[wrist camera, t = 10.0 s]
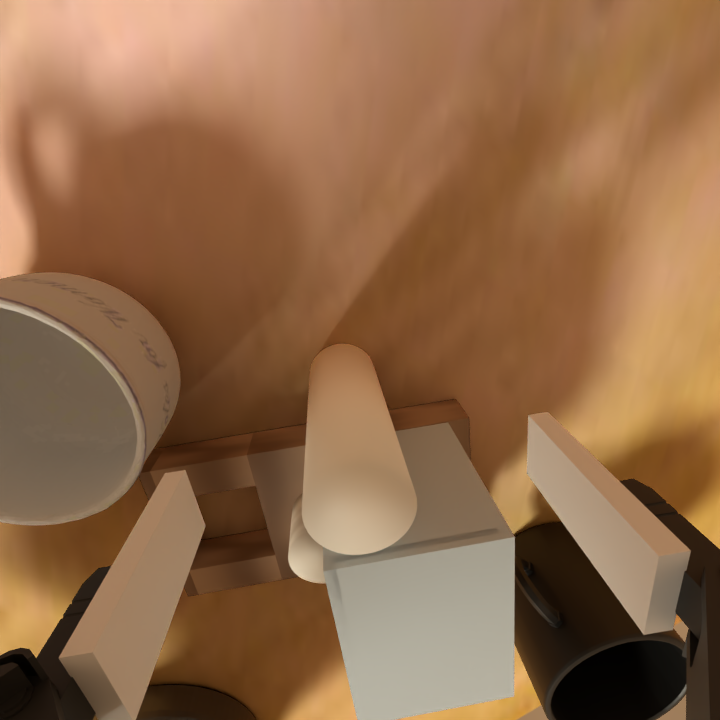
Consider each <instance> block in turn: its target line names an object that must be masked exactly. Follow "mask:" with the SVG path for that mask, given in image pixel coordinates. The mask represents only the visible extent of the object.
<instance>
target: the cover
mask: <svg viewBox="0 0 720 720" xmlns="http://www.w3.org/2000/svg"><path fill="white" fill-rule="evenodd" d="M395 432H396V435H397V438H398V441H399V444H400V448H401V451H402V454H403V457H404V460H405V463H406V466H407V469H408V472H409V475H410V478H411V481H412V484H413V487H414V490H415V493H416V497H417V512H416V516H415V519H414V521H413V523H412V525H411V527H410V528H409V530H408V531H407V532H406V533H405V535H403V536H402V537H401V538H400V539H399V540H398V541H396V542H395V543H394V544H392V545H390V546H389V547H387V548H384V549H382V550H380V551H377V552H373V553H369V554H362V555H348V554H341V553H337V552H334V551H331V550H329V549H326V548H325V547H323V573H324V577H325V581H326V586H327V590H328V594H329V599H330V603H331V607H332V612H333V616H334V620H335V625H336V629H337V633H338V638H339V642H340V646H341V651H342V655H343V659H344V664H345V668H346V672H347V677H348V681H349V685H350V690H351V694H352V698H353V703H354V707H355V711H356V716H357V720H395V719H400V718H405V717H411V716H416V715H421V714H426V713H431V712H437V711H442V710H447V709H452V708H457V707H462V706H468V705H473V704H478V703H483V702H488V701H493V700H499V699H504V698H509V697H514V600H515V537H514V535H513V533H512V531H511V530H510V528H509V526H508V525H507V523H506V521H505V519H504V518H503V516H502V514H501V512H500V511H499V509H498V507H497V506H496V504H495V502H494V500H493V499H492V497H491V495H490V494H489V492H488V490H487V488H486V487H485V485H484V483H483V482H482V480H481V478H480V476H479V475H478V473H477V471H476V469H475V468H474V466H473V464H472V463H471V461H470V459H469V457H468V456H467V454H466V452H465V451H464V449H463V447H462V445H461V444H460V442H459V440H458V438H457V437H456V435H455V433H454V432H453V430H452V428H451V426H450V425H449V423H448V422H447V423H441V424H435V425H429V426H423V427H417V428H411V429H405V430H399V431H395Z"/></svg>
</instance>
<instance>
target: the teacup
mask: <svg viewBox="0 0 720 720" xmlns="http://www.w3.org/2000/svg"><path fill="white" fill-rule="evenodd" d="M180 384H181V381H180V367H179V362H178V358H177V355H176V352H175V349H174V347H173V344H172V342H171V340H170V338H169V336H168V335H167V333H166V332H165V330H164V329H163V327H162V326H161V325H160V323H159V322H158V321H157V319H156V318H155V317H154V316H153V315H152V314H151V313H150V312H149V311H148V310H147V309H146V308H145V307H144V306H143V305H141V304H140V303H139V302H138V301H136V300H135V299H134V298H132V297H131V296H129V295H128V294H126V293H125V292H123V291H121V290H119V289H117V288H116V287H113V286H111V285H109V284H107V283H104V282H102V281H99V280H96V279H92V278H89V277H85V276H81V275H75V274H70V273H57V272H43V273H30V274H23V275H17V276H12V277H7V278H3V279H0V522H3V523H9V524H17V525H53V524H60V523H65V522H70V521H75V520H80V519H83V518H86V517H88V516H91V515H94V514H96V513H98V512H101V511H103V510H105V509H107V508H108V507H110V506H111V505H112V504H114V503H115V502H116V501H118V500H119V499H120V498H121V497H122V496H123V495H124V494H125V493H126V492H127V491H128V490H129V489H130V488H131V487H132V486H133V484H134V483H135V481H136V480H137V478H138V476H139V474H140V473H141V470H142V468H143V465H144V462H145V461H146V459H147V458H148V456H149V455H150V453H151V452H152V450H153V448H154V447H155V445H156V444H157V442H158V441H159V439H160V438H161V436H162V434H163V433H164V431H165V429H166V427H167V425H168V424H169V422H170V420H171V418H172V416H173V414H174V411H175V408H176V405H177V402H178V398H179V393H180Z"/></svg>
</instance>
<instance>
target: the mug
mask: <svg viewBox="0 0 720 720" xmlns="http://www.w3.org/2000/svg"><path fill="white" fill-rule="evenodd" d="M514 644H515V646H516V648H517V650H518V653H519V655H520V657H521V659H522V662H523V664H524V666H525V669H526V671H527V673H528V675H529V678H530V680H531V682H532V684H533V687H534V689H535V691H536V694H537V696H538V698H539V700H540V703H541V705H542V707H543V709H544V712H545V714H546V716H547V718H548V719H549V720H656V719H658V718H660V717H661V716H662V715H664V714H665V713H667V712H668V711H670V710H671V709H672V708H673V707H674V706H676V705H677V704H678V703H679V701H681V700H682V698H683V697H684V696H685V695H686V678H687V658H685V657H683V656H682V653H683V649H684V645H685V642H684V641H683V640H682V638H681V637H680V636H679V635H678V634H677V632H676V631H675V630H674V629H673V630H669V631H663V632H657V633H652V634H646V635H644V634H643V633H642V632H641V630H640V629H639V627H638V626H637V625H636V623H635V622H634V621H633V619H632V618H631V616H630V615H629V614H628V612H627V611H626V610H625V608H624V607H623V605H622V604H621V603H620V601H619V600H618V599H617V597H616V596H615V594H614V593H613V592H612V590H611V589H610V587H609V586H608V585H607V583H606V582H605V581H604V579H603V578H602V576H601V575H600V574H599V572H598V571H597V570H596V568H595V567H594V565H593V564H592V563H591V561H590V560H589V559H588V557H587V556H586V554H585V553H584V552H583V550H582V549H581V547H580V546H579V545H578V543H577V542H576V541H575V539H574V538H573V536H572V535H571V534H570V532H569V531H568V530H567V528H566V527H565V525H564V524H563V523H562V522H556V523H548V524H543V525H539V526H536V527H533V528H531V529H528V530H526V531H524V532H522V533H520V534H519V535H517V536H516V537H515V600H514Z"/></svg>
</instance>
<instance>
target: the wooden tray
mask: <svg viewBox="0 0 720 720" xmlns="http://www.w3.org/2000/svg"><path fill="white" fill-rule="evenodd" d="M388 411H389V414H390V417H391V420H392V423H393V426H394V429H395V431H399V430H405V429H411V428H417V427H423V426H429V425H435V424H441V423H447V422H448V423H449V425H450V426H451V428H452V430H453V432H454V433H455V435H456V437H457V438H458V440H459V442H460V444H461V445H462V447H463V449H464V451H465V452H466V454H467V456H468V457H469V459H470V461H471V454H470V431H469V417H468V416H467V414H466V413H465V411H464V410H463V409H462V407H461V406H460V404H459V403H458V401H457V400H456V399H453V400H447V401H441V402H435V403H429V404H423V405H417V406H411V407H405V408H399V409H393V410H388ZM306 427H307V424H303V425H297V426H291V427H285V428H279V429H272V430H266V431H260V432H254V433H248V434H242V435H236V436H230V437H224V438H218V439H212V440H206V441H200V442H194V443H188V444H182V445H176V446H170V447H164V448H158V449H154V450H153V451H152V453H151V454H150V456H149V457H148V459H147V460H146V462H145V463H144V465H143V468H142V470H141V473H140V474H139V478H140V480H141V483H142V485H143V488H144V490H145V493H146V495H147V497H148V500H150V498H151V497H152V495H153V493H154V491H155V490H156V488H157V486H158V484H159V483H160V481H161V479H162V477H163V476H164V474H165V473H169V472H176V471H182V470H186V473H187V476H188V479H189V481H190V484H191V487H192V490H193V492H194V495H195V496H199V495H204V494H210V493H216V492H222V491H228V490H234V489H240V488H245V487H251V486H256V489H257V493H258V496H259V500H260V503H261V507H262V510H263V514H264V517H265V521H266V525H267V528H268V529H264V530H258V531H253V532H247V533H241V534H235V535H230V536H224V537H218V538H213V539H207V540H201V541H200V543H199V546H198V549H197V552H196V554H195V557H194V560H193V563H192V565H191V568H190V571H189V574H188V577H187V579H186V582H185V585H184V588H185V590H186V593H187V595H188V596H194V595H199V594H205V593H210V592H216V591H222V590H227V589H233V588H238V587H244V586H249V585H255V584H261V583H266V582H272V581H277V580H283V579H288V578H294V577H300V578H302V579H304V580H307V581H309V582H314V583H326V581H325V577H324V573H323V546H321V545H320V544H318V543H317V542H316V541H315V540H314V539H313V538H312V537H311V536H310V535H309V533H308V532H307V530H306V528H305V526H304V523H303V519H302V497H303V479H304V462H305V444H306Z"/></svg>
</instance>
